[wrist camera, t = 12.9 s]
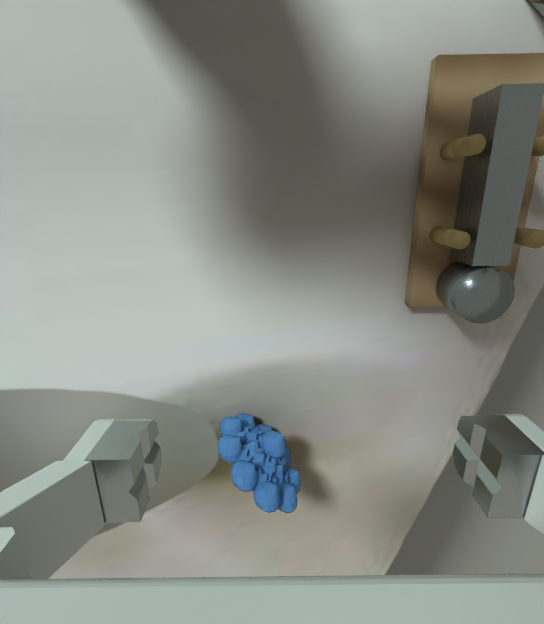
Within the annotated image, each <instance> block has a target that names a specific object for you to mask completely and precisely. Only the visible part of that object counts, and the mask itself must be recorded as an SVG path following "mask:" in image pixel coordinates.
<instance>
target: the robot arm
mask: <svg viewBox="0 0 544 624" xmlns="http://www.w3.org/2000/svg"><path fill="white" fill-rule="evenodd" d="M457 430H458V432H459V433H460V435H461V437H460V438H459V439H458V440H457V441H456V442H455V443H454V450H453V458H454V464H455V467H456V469H457V472H458V474H459V475H460V477H461V478H462V480H463V481H464V482H466V483H467V484H469V485H470V486H472V487H473V488H474V489H473V496H474V498H475V499H476V501H477V502H478V504H479V505H480V507H481V508H482V510H483V511H484V513H485V514H486V516H487V517H488V518H525V519H524V520H525V521H526V522H527V523H529V524H530V525H531V526H533V527H534V528H535V529H537V530H538V531H539V532H541V533H542V534H543V535H544V432H543V431H542V430H541V429H540V428H539V427H538V426H537V425H535V424H534V423H533V422H532V421H531V420H529V419H528V418H527V417H526V416H524V415H521V414H503V415H485V416H484V415H483V416H461V418H460V420H459V421H458V426H457ZM157 435H158V428H157V423H156V421H155V420H154V419H99V420H96V421H94V422H93V424H92V425H91V426H90V427H89V428H88V430H87V431H86V432H85V434H84V435H83V436H82V437H81V439H80V440H79V441H78V442H77V444H76V445H75V446H74V447H73V449H72V450H71V451H70V452H69V454H68V455H67V456H66V458H65V459H64V460H63V461H56V462H54V463H52V464H51V465H49V466H47V467H45V468H43V469H42V470H40V471H38V472H37V473H34V474H33V475H31V476H29V477H27V478H25V479H24V480H22V481H20V482H18V483H16V484H15V485H13V486H11V487H9V488H7V489H6V490H4V491H2V492H0V624H544V574H467V575H465V574H462V575H362V576H276V577H187V578H96V579H48V578H49V577H51V576H52V575H53V574H54V573H55V572H56V571H57V570H58V569H59V568H60V567H61V566H62V565H63V564H64V563H65V562H66V561H67V560H69V559H70V558H71V557H72V556H73V555H74V554H75V553H76V552H77V551H78V550H79V549H80V548H81V547H82V546H83V545H84V544H85V543H87V542H88V541H89V540H90V539H91V538H92V537H93V536H94V535H95V534H96V533H97V532H98V531H99V530H100V529H101V528H102V527H103V526H105V523H117V522H141V519H142V517H143V515H144V512H145V510H146V507H147V505H148V502H149V500H150V496H149V489H150V488H152V487H153V486H154V485H155V484H156V482H157V479H158V477H159V473H160V467H161V449H160V446H159V445H158V444H157V443H156V442H155V439H156V437H157Z"/></svg>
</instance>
